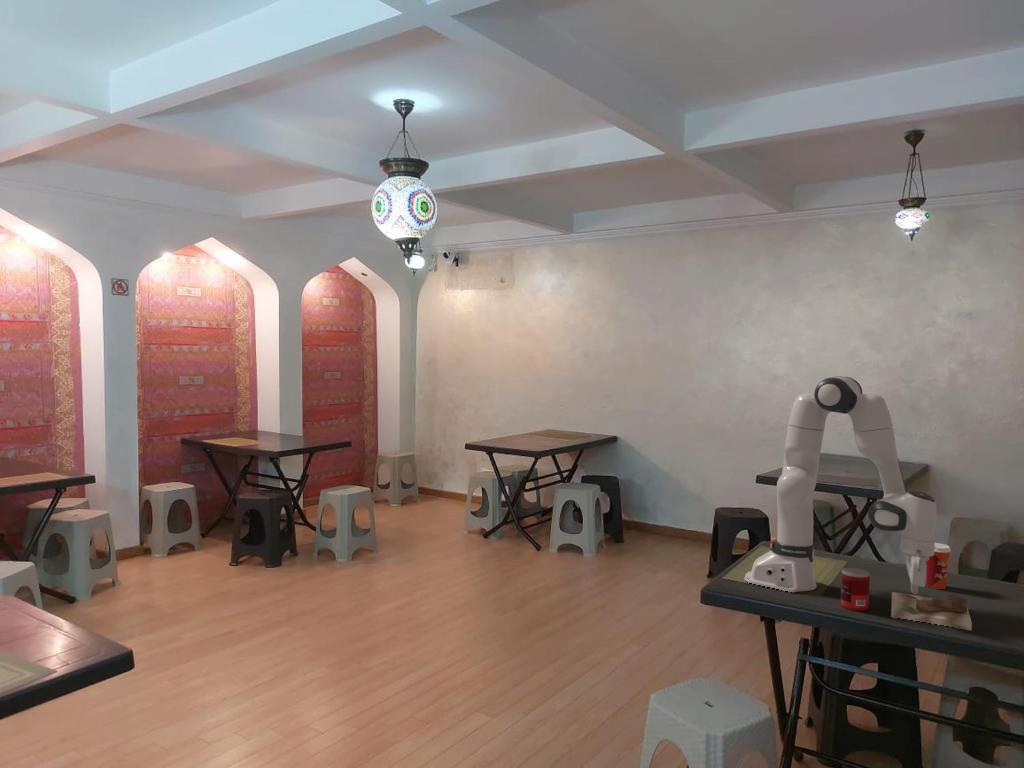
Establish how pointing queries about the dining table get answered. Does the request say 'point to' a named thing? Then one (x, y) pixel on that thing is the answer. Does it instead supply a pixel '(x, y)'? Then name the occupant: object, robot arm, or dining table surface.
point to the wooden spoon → (943, 604)
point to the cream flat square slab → (927, 612)
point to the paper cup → (938, 567)
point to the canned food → (855, 589)
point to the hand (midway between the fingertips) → (914, 592)
